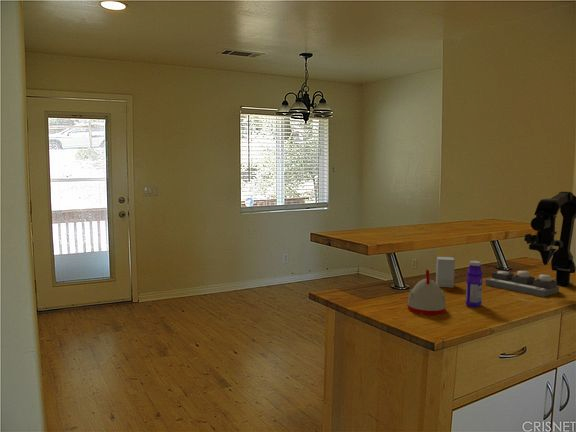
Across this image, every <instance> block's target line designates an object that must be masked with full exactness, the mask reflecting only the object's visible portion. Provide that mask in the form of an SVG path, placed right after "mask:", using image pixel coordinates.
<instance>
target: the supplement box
mask: <svg viewBox="0 0 576 432" xmlns="http://www.w3.org/2000/svg"><path fill="white" fill-rule="evenodd" d="M455 264H456V259H455V258H454V257H451V256H436V263H435V266H436V268H435V283H436V284H437V285H438V286H439V287H440V288H455V267H456V266H455Z"/></svg>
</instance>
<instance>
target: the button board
mask: <svg viewBox="0 0 576 432" xmlns="http://www.w3.org/2000/svg"><path fill="white" fill-rule="evenodd" d="M508 272H509V271H508ZM535 278H536V277H535V276H531V275H530V278H528V279H525V278H520V277H517V274H515V273H513V272H509V274H507V275H504V274H498V273H497V271H493V272H492V273H491V278H486V279H485V286H488V287H494V288H498V289H504V290H506V291H507V290H508V291H513V292H518V293H523V294H527V295H532V296H535V297H537V296H538V297H542V298H545V297H548V296H551V295H554V294H557V293H559V292H560V285H557V281H556V280H554V279H552V282H550V283H547V282H542V281H539V278H536V279H535Z"/></svg>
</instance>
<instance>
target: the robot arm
mask: <svg viewBox="0 0 576 432" xmlns="http://www.w3.org/2000/svg"><path fill="white" fill-rule="evenodd" d="M558 213H560V214H561V216H562V223H561V229H560V236H559V239H555V235H557V234H558V231H555V230H556V218H557V215H558ZM534 216H535V217H534V218H532V219H531V221H530V227H531V228H532V230H534V231H535V232H536V234H531V233H526V234H525V235H524V239H523V241H525V242H526V244H529V245H528V250H532V251H538V252H539V253H540V256H541V259H542V263H543V265H544V266H548V264H549V262H550V267H551V271H555V281H557V286H562V287H569V286H572V285H573V284H574V283H573V282H571V274H575V273H576V264H575V261H574V256H573V254H572V252H571V248H572V247H571V245H572V240H573V233H574V226H575V220H576V195H574V193H573V192H572V191H559V192H558V193H557V194H556V195H554V196H552V197H550V198H541V199H540V200H539V201H538V203H537V206H536V208H535V212H534ZM554 247H558V248H554Z"/></svg>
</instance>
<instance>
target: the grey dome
mask: <svg viewBox="0 0 576 432" xmlns="http://www.w3.org/2000/svg"><path fill="white" fill-rule="evenodd" d="M446 305H447V303H446V297H445V292H444V290H442V289H441V287H439V286H438V285H437V284H436V281H435V280H433V279H430V271H429V269H426V270H425V278H422V279H421V280H420V281H418V282H417V283H416V284H415V285H414V287H413V288H411V289H410V290H409V293H408V301H407V310H409V312H413V313H415V314H420V315H426V316H427V315H428V316H437V315H438V314H439V315H443V314H445V313H446V308H447V306H446Z"/></svg>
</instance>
